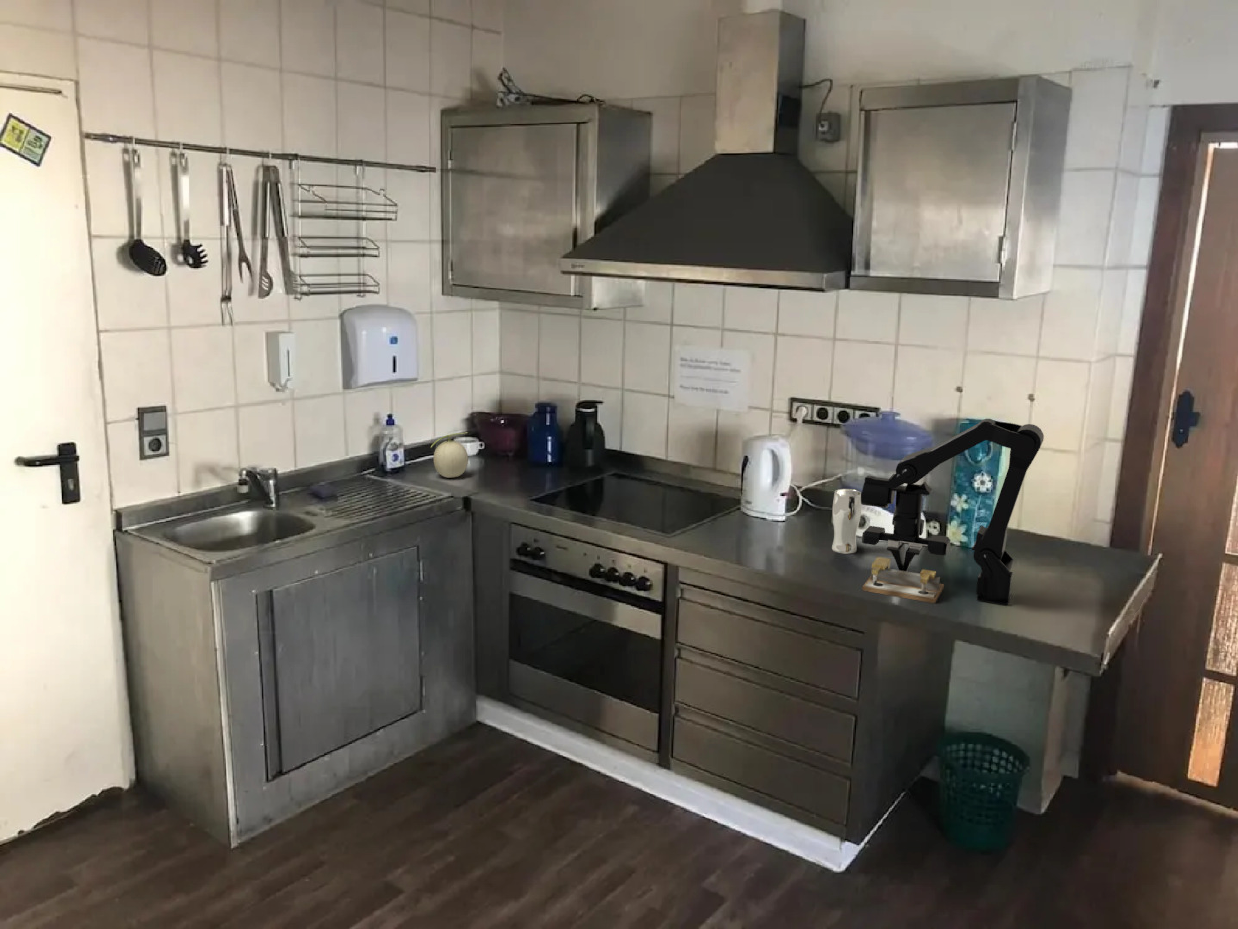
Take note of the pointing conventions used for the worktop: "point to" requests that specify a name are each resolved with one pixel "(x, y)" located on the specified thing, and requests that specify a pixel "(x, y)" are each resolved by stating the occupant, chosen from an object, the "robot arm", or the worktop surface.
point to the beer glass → (846, 520)
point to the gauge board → (906, 584)
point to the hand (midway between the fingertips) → (903, 575)
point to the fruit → (450, 457)
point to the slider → (879, 566)
